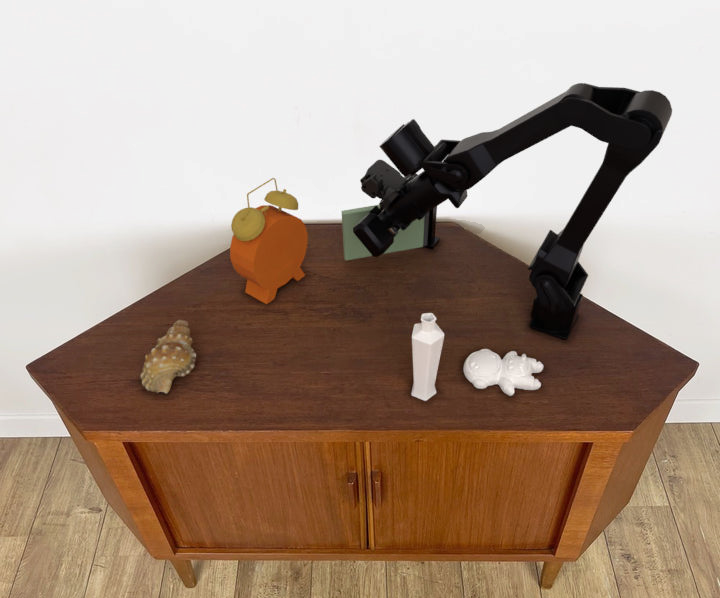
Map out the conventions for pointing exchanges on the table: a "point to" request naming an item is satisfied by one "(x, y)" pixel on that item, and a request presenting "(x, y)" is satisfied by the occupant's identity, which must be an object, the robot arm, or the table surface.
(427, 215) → the green flat slab
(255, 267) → the alarm clock
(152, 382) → the seashell
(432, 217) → the door post
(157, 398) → the table surface
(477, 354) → the astronaut figurine
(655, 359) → the table surface
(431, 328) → the perfume bottle
